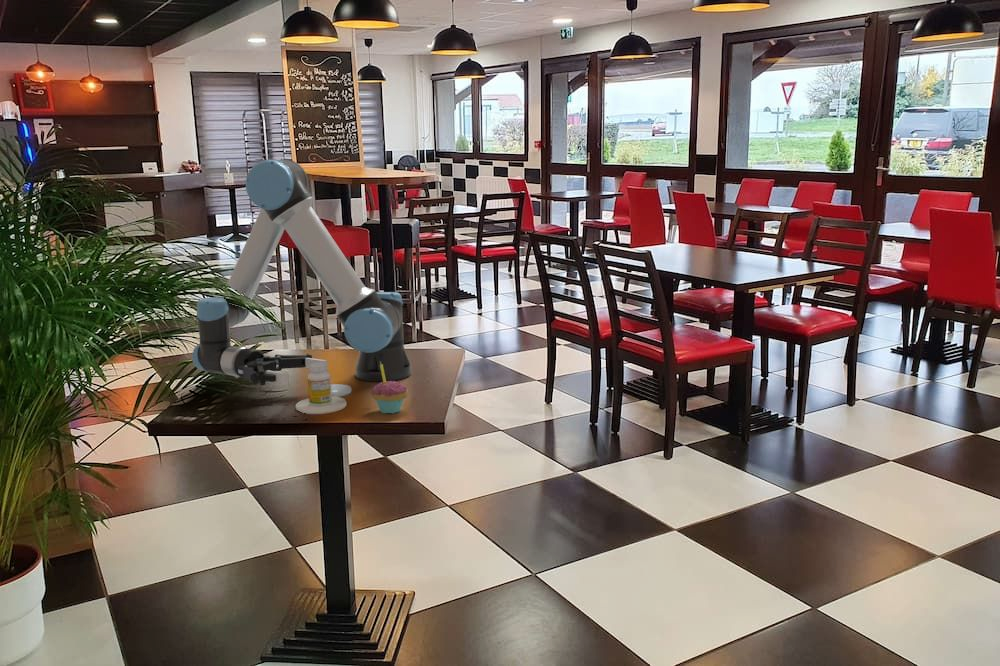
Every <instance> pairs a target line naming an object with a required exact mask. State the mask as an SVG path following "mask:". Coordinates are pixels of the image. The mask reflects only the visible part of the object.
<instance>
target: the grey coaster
mask: <svg viewBox="0 0 1000 666" xmlns="http://www.w3.org/2000/svg"><path fill="white" fill-rule="evenodd" d="M331 393H332V396H335V397H340V398H343V397H346V396H349V395H350V394H351V393H352V387H351V386H349V385H347V384H339V383H337V384H336V383H333V384H332V383H331Z"/></svg>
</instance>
